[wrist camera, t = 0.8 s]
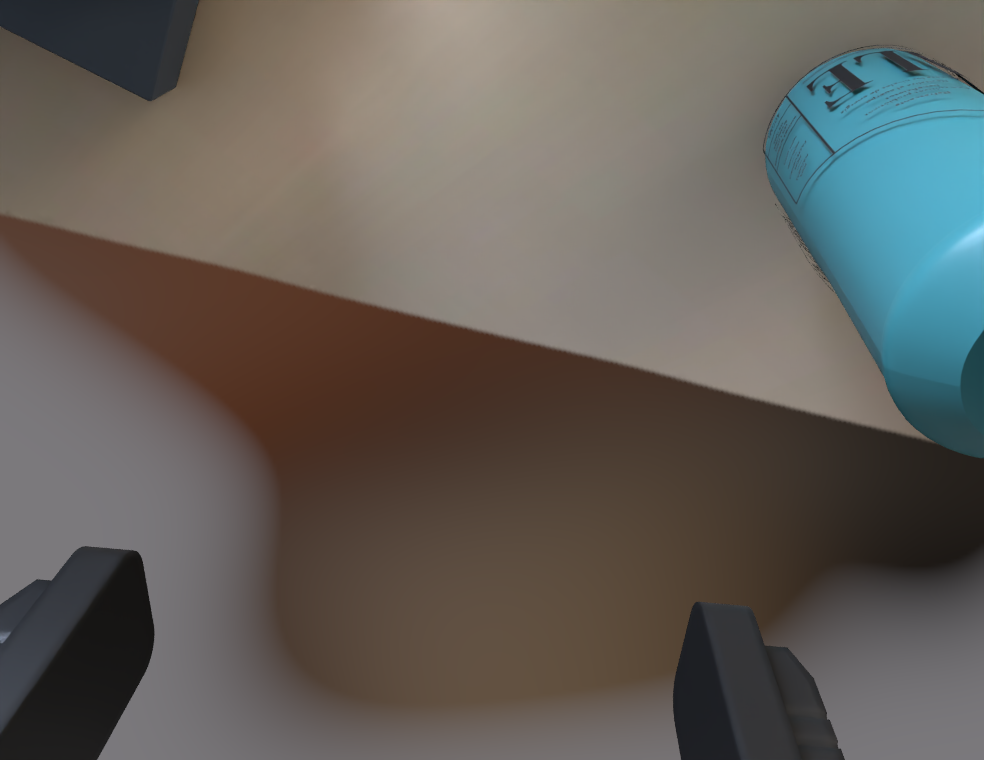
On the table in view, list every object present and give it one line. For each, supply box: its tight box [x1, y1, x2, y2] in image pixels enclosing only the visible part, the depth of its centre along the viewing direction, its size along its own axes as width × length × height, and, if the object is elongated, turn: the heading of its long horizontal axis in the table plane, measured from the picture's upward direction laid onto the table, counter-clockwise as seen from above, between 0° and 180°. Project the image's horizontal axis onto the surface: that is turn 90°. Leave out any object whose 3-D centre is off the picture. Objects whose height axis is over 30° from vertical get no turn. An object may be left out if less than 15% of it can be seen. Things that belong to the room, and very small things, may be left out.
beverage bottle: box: [763, 45, 984, 458], centre depth 21 cm, size 6×7×20 cm
